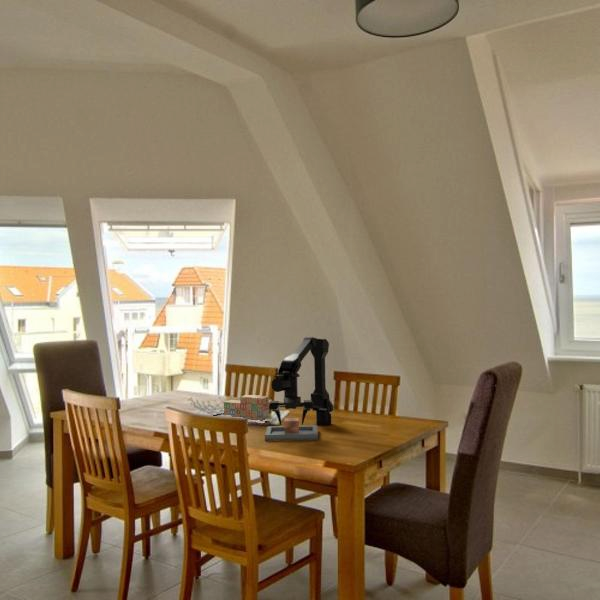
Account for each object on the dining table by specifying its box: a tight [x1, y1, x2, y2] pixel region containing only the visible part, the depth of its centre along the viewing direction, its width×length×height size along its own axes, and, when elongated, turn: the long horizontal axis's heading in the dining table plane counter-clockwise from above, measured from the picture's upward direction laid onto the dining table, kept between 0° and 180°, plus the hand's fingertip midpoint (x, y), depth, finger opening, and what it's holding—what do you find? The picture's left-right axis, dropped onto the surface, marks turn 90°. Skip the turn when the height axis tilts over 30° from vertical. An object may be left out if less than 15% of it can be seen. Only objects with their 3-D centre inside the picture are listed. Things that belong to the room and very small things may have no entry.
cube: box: [283, 417, 300, 433], centre depth 255 cm, size 6×6×6 cm
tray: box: [264, 424, 319, 441], centre depth 255 cm, size 22×16×2 cm
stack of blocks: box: [223, 394, 270, 421], centre depth 287 cm, size 21×6×12 cm, turn 66°
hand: (291, 424), depth 255 cm, fingers open, 9 cm apart
